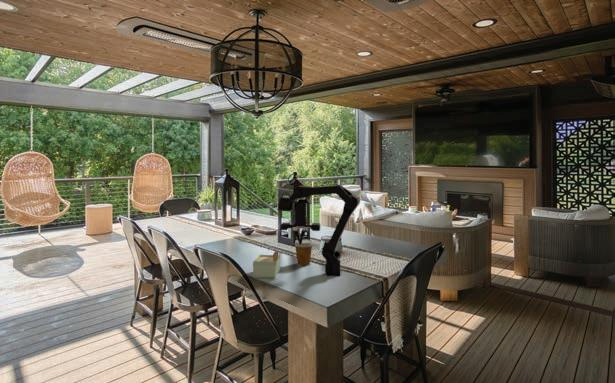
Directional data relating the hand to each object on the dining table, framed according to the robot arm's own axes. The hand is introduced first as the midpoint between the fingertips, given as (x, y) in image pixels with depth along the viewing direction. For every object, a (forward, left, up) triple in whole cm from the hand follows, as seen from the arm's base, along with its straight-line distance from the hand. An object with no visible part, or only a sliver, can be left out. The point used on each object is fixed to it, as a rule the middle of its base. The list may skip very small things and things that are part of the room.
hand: (300, 244), depth 180 cm
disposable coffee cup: (0, -11, -13) cm, 17 cm away
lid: (+14, +7, -7) cm, 17 cm away
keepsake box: (+15, +7, -13) cm, 21 cm away
